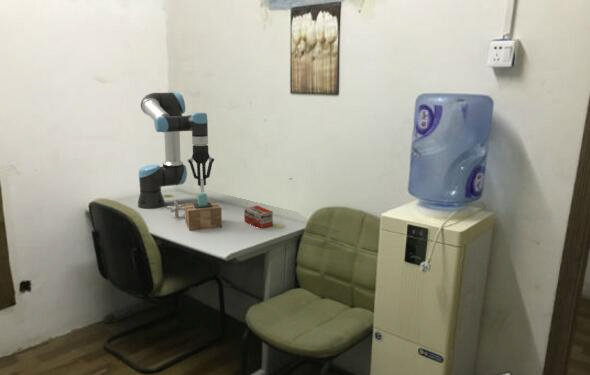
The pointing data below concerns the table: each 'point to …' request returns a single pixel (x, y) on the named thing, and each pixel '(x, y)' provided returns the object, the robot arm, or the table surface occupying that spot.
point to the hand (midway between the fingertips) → (202, 191)
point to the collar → (202, 206)
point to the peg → (202, 199)
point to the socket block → (203, 217)
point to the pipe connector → (176, 208)
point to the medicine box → (258, 216)
